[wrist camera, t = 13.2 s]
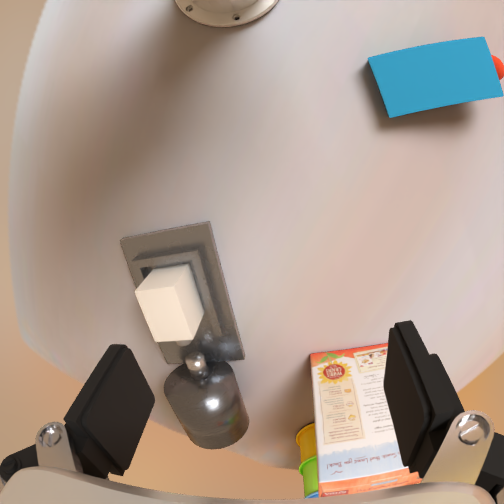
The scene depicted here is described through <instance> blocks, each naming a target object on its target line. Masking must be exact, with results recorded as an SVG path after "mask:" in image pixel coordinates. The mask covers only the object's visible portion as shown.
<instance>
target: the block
mask: <svg viewBox="0 0 504 504" xmlns="http://www.w3.org/2000/svg"><path fill="white" fill-rule="evenodd" d="M134 292H135V294H136V297H137V300H138V302H139V305H140V307H141V309H142V312H143V314H144V317H145V319H146V322H147V324H148V326H149V329H150V331H151V333H152V336H153V338H154V340H155V342H164V341H176V342H177V345H178V346H186V345H188V344H190V343H191V342H192V340H193V339H194V336H195V334H196V331H197V329H198V327H199V324H200V322H201V319H202V317H203V314H204V309H203V306H202V303H201V299H200V296H199V293H198V290H197V287H196V284H195V280H194V277H193V274H192V271H191V268H190V264H189V263H188V264H181V265H175V266H169V267H163V268H157V269H153V270H152V271H151V272H150V274H149V275H148V276H147V277H146V278H145V279H144V281H143V282H142V283H141V284H140V285H139V287H138V288H137V289H136V290H135V291H134Z"/></svg>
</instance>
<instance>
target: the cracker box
mask: <svg viewBox="0 0 504 504" xmlns="http://www.w3.org/2000/svg"><path fill="white" fill-rule="evenodd" d="M387 350H388V343H385V344H379V345H373V346H366V347H360V348H353V349H345V350H338V351H330V352H321V353H313V354H310V363H311V380H312V393H313V406H314V420H315V436H316V454H317V473H318V494H319V497H329V496H338V495H347V494H355V493H362V492H369V491H375V490H381V489H387V488H393V487H399V486H405V485H411V484H416V483H420V482H421V481H422V478H420V477H419V475H418V472H414V473H410V472H409V468H408V466H407V467H404V466H403V464H402V460H401V455H400V451H399V447H398V443H397V438H396V434H395V430H394V426H393V422H392V419H391V415H390V411H389V407H388V403H387V400H386V396H385V393H384V387H383V381H384V374H385V366H386V358H387Z"/></svg>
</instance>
